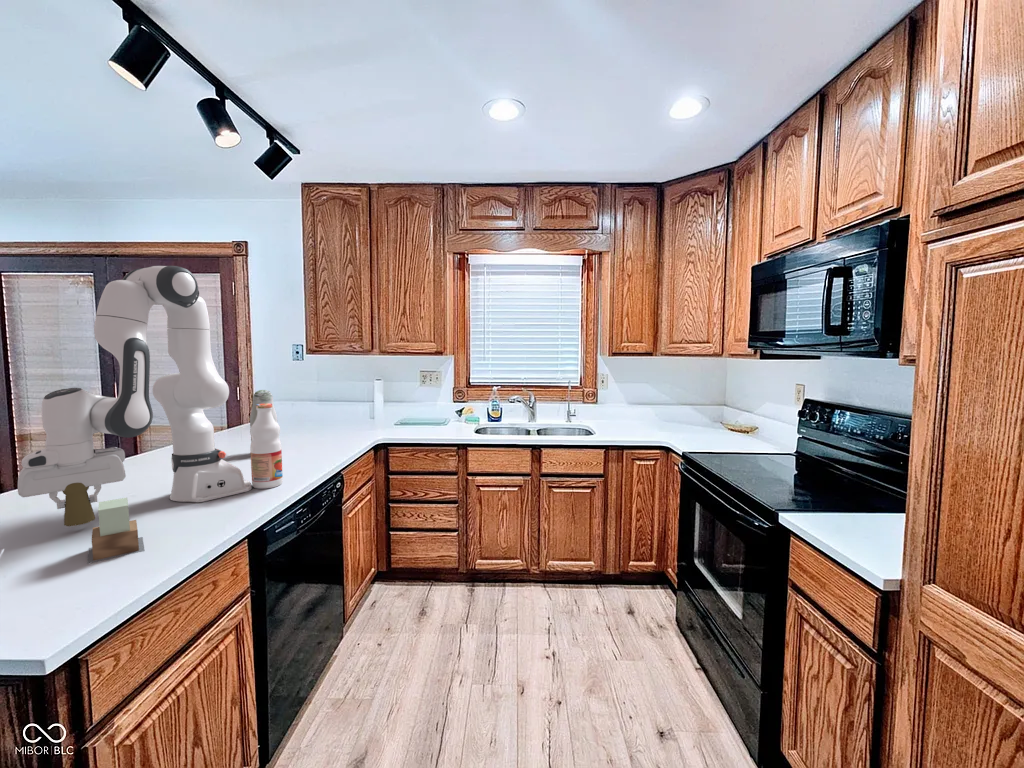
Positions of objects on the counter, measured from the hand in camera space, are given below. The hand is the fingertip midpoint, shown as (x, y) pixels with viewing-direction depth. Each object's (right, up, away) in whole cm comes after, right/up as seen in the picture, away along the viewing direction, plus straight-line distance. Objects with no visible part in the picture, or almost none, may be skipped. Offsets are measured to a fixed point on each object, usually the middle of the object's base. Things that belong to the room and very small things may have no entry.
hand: (77, 504), depth 122 cm
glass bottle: (+5, 0, +83) cm, 84 cm away
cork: (0, -5, +1) cm, 5 cm away
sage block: (+19, -3, -12) cm, 23 cm away
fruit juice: (+28, -4, +40) cm, 49 cm away
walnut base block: (+19, -8, -11) cm, 24 cm away
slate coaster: (+19, -8, -11) cm, 24 cm away
